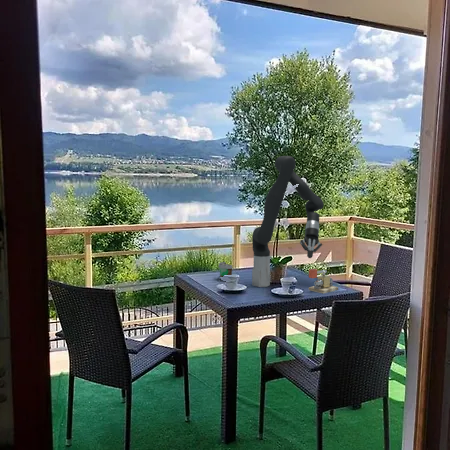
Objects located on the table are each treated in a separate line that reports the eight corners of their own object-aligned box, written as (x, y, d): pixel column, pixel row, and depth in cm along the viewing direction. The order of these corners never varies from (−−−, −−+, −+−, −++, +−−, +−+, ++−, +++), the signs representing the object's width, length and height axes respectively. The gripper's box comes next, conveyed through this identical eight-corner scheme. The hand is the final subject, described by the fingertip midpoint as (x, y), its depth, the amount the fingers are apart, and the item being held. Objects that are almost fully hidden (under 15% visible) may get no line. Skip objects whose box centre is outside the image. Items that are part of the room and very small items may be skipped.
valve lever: (323, 275, 262) (323, 266, 262) (327, 276, 260) (327, 267, 259) (308, 277, 255) (308, 269, 255) (312, 278, 253) (312, 270, 252)
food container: (215, 278, 290) (215, 262, 289) (225, 277, 292) (225, 261, 291) (222, 282, 278) (222, 265, 277) (232, 282, 280) (232, 265, 279)
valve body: (319, 289, 255) (319, 278, 255) (313, 288, 259) (313, 277, 258) (333, 286, 263) (333, 275, 262) (327, 284, 266) (327, 274, 266)
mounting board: (323, 293, 253) (323, 290, 253) (308, 290, 261) (308, 287, 260) (338, 289, 261) (338, 287, 261) (323, 286, 269) (323, 283, 269)
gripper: (302, 225, 269) (299, 253, 261) (325, 229, 269) (323, 257, 261) (299, 230, 275) (296, 258, 268) (321, 234, 275) (319, 262, 268)
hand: (309, 257), depth 264 cm, fingers closed
